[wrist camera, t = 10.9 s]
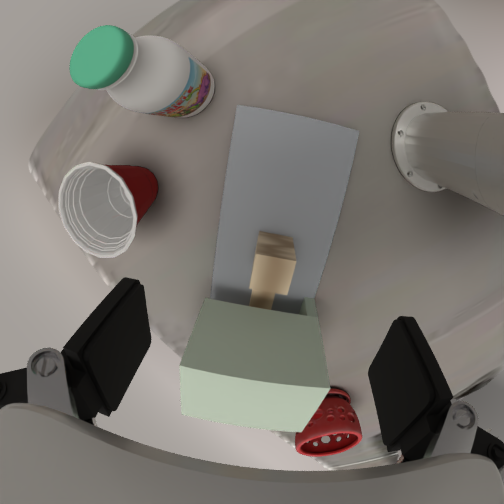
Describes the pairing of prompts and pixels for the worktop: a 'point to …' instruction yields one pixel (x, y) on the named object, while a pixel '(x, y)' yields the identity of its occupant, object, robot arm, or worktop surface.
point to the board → (280, 199)
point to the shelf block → (254, 366)
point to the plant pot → (330, 427)
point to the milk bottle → (142, 72)
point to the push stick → (271, 268)
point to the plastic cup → (105, 205)
